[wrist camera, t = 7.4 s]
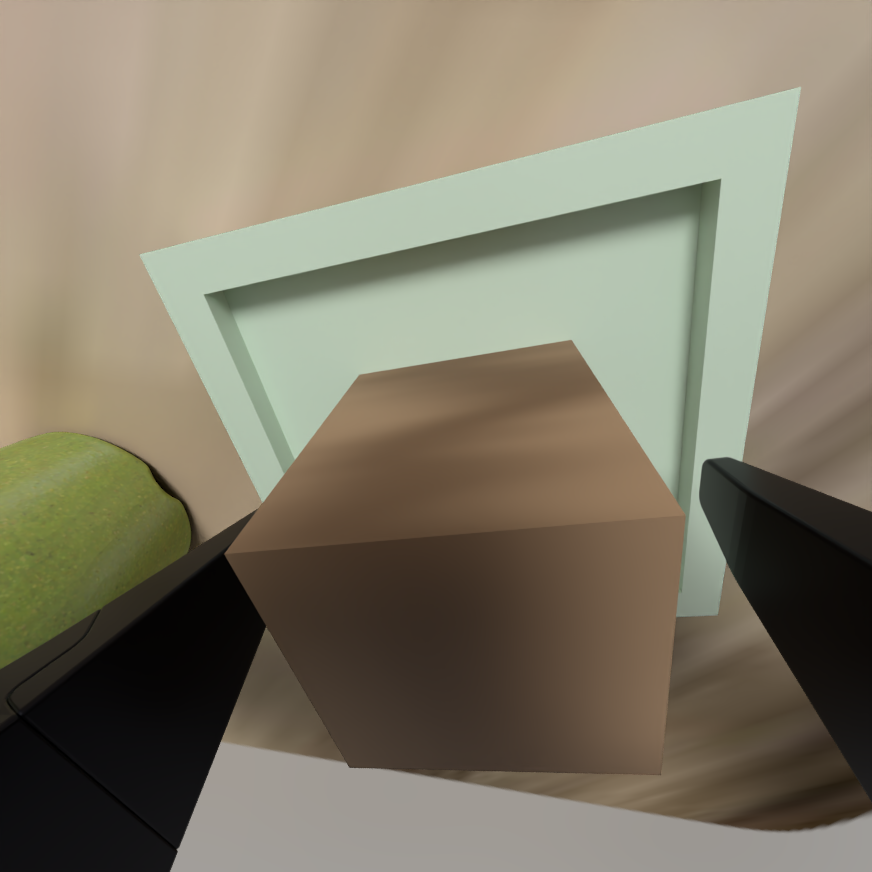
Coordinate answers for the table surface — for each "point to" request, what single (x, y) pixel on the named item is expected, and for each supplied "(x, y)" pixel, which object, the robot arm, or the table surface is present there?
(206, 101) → the table surface
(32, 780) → the robot arm
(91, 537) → the plant pot
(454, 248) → the green tray
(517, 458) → the walnut block
